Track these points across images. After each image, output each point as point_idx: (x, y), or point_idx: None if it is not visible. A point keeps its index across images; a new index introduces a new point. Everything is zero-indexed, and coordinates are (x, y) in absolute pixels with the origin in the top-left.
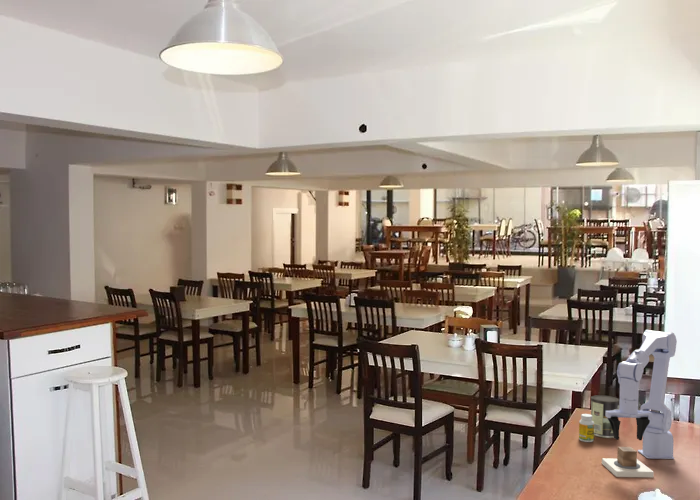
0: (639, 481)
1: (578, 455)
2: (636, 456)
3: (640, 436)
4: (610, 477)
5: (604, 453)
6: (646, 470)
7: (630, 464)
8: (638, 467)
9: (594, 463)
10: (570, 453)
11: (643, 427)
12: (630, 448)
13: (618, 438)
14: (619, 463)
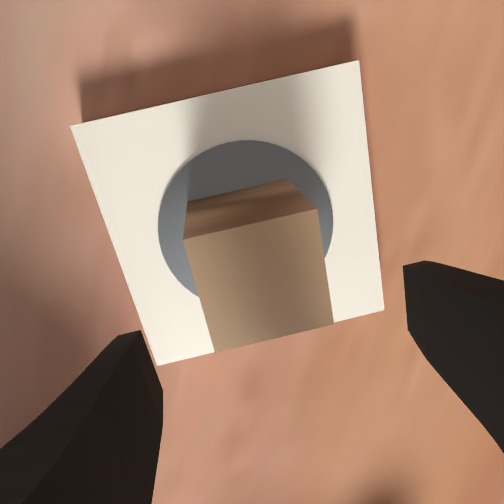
0: (197, 2)
1: None
2: (187, 222)
3: (124, 350)
4: (388, 41)
5: (310, 451)
6: (123, 143)
7: (233, 194)
8: (176, 184)
9: None
10: None
11: (32, 453)
12: (228, 310)
13: (417, 266)
14: None
